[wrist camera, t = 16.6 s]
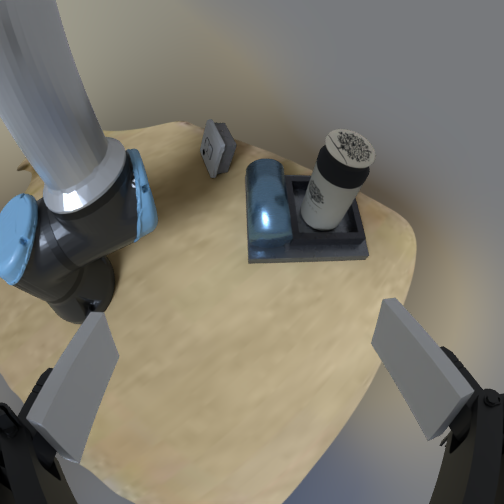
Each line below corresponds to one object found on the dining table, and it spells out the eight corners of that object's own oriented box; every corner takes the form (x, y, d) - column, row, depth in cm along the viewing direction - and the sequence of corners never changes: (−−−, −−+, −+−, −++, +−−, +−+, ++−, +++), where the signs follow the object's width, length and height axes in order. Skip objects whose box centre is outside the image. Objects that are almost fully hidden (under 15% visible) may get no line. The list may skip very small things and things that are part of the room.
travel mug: (333, 194, 52) (364, 128, 36) (345, 229, 49) (386, 167, 33) (295, 197, 51) (316, 126, 35) (306, 234, 48) (335, 168, 32)
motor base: (248, 263, 48) (249, 240, 40) (245, 181, 55) (246, 150, 47) (364, 259, 49) (385, 238, 41) (346, 183, 56) (359, 155, 48)
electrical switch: (199, 151, 58) (199, 119, 50) (221, 146, 60) (223, 115, 51) (211, 180, 55) (212, 148, 47) (235, 175, 56) (239, 143, 48)
